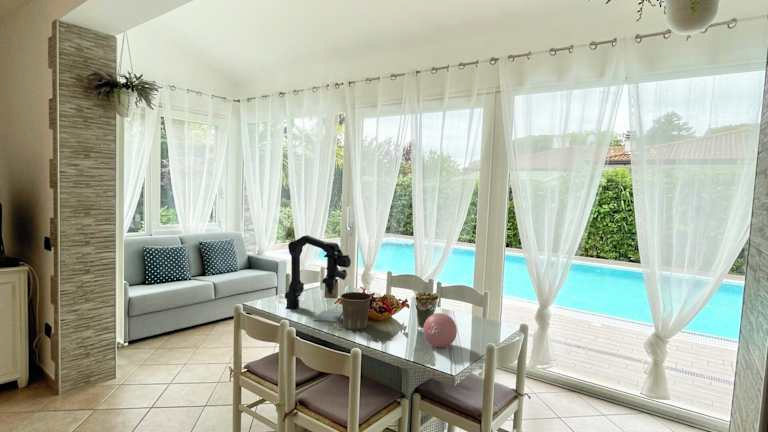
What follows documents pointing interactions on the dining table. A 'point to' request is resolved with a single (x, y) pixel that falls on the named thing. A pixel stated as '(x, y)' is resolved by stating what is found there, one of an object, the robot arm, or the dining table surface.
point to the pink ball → (440, 330)
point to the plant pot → (355, 310)
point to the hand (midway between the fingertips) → (331, 293)
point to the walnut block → (334, 291)
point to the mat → (328, 316)
